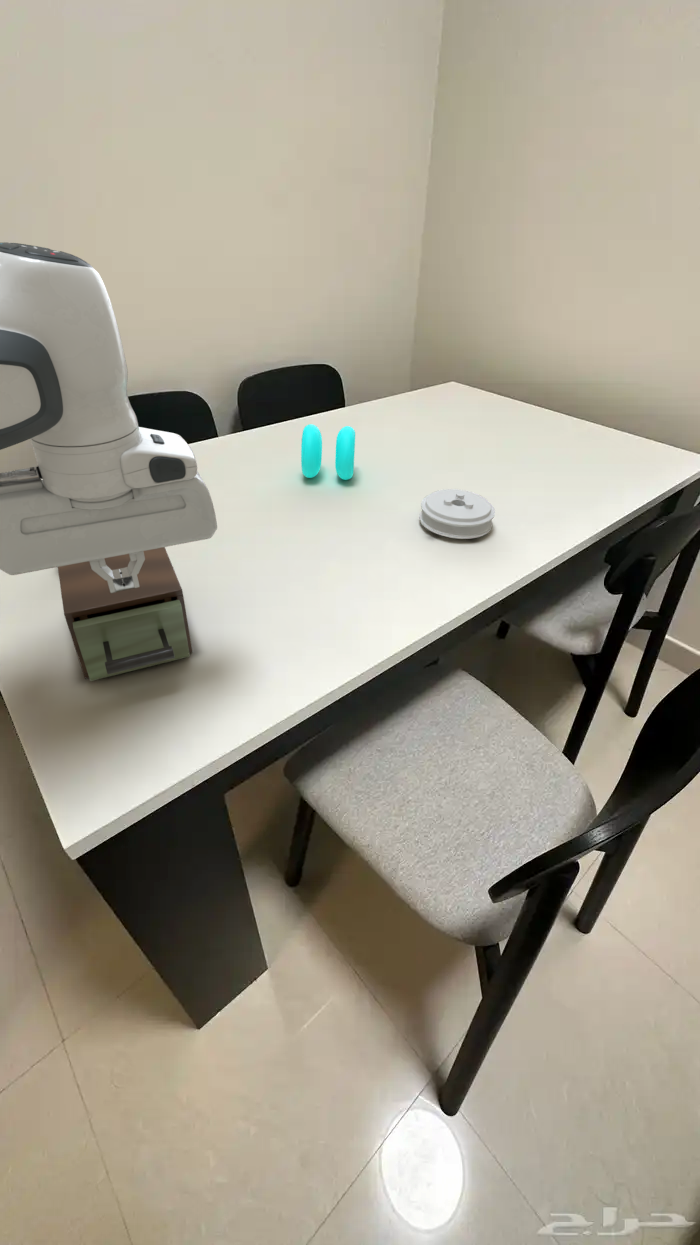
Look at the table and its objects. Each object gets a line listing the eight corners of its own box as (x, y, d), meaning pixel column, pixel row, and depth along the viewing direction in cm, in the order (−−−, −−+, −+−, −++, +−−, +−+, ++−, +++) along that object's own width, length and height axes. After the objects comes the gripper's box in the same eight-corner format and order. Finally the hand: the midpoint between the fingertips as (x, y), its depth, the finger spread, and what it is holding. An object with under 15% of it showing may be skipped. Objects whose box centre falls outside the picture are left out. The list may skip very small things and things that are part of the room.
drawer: (199, 682, 67) (191, 630, 62) (95, 710, 63) (77, 656, 58) (167, 596, 80) (158, 547, 75) (79, 614, 76) (63, 564, 71)
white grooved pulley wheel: (471, 505, 108) (476, 480, 105) (504, 539, 99) (510, 513, 96) (408, 512, 105) (411, 486, 102) (435, 547, 96) (439, 520, 92)
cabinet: (192, 652, 73) (182, 589, 67) (85, 678, 68) (63, 614, 62) (168, 589, 83) (158, 530, 77) (74, 609, 78) (54, 548, 72)
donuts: (352, 488, 111) (355, 437, 105) (300, 486, 111) (300, 434, 105) (353, 467, 119) (356, 419, 113) (305, 465, 119) (304, 416, 113)
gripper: (-43, 493, 46) (13, 629, 54) (213, 457, 53) (227, 582, 62) (-39, 462, 50) (13, 592, 59) (197, 433, 57) (212, 553, 66)
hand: (124, 587), depth 60 cm, fingers closed
